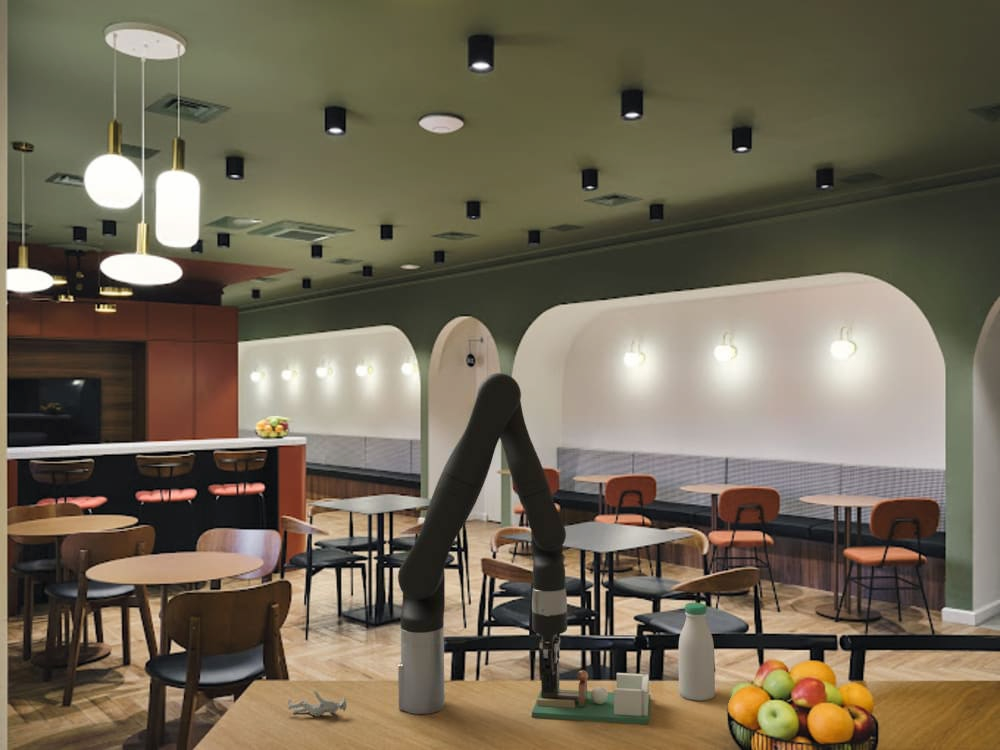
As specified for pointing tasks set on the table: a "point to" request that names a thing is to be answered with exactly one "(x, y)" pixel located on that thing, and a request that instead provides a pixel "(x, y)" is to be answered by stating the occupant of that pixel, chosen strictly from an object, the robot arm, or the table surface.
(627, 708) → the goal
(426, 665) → the robot arm
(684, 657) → the milk bottle
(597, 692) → the ball
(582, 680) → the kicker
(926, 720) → the table surface
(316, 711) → the soldier figure
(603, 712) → the pitch
